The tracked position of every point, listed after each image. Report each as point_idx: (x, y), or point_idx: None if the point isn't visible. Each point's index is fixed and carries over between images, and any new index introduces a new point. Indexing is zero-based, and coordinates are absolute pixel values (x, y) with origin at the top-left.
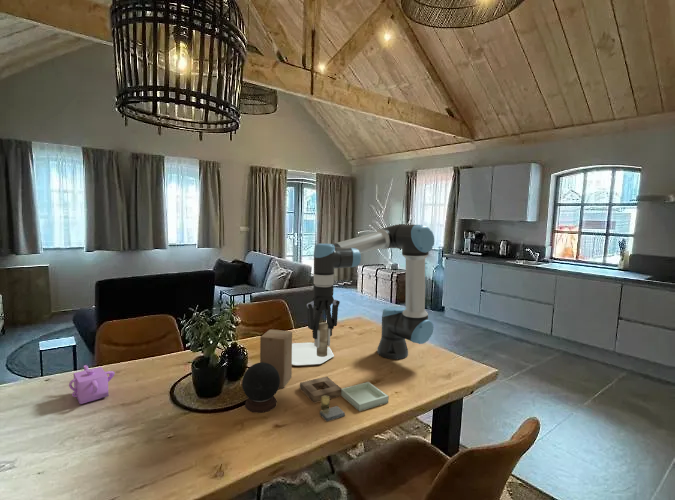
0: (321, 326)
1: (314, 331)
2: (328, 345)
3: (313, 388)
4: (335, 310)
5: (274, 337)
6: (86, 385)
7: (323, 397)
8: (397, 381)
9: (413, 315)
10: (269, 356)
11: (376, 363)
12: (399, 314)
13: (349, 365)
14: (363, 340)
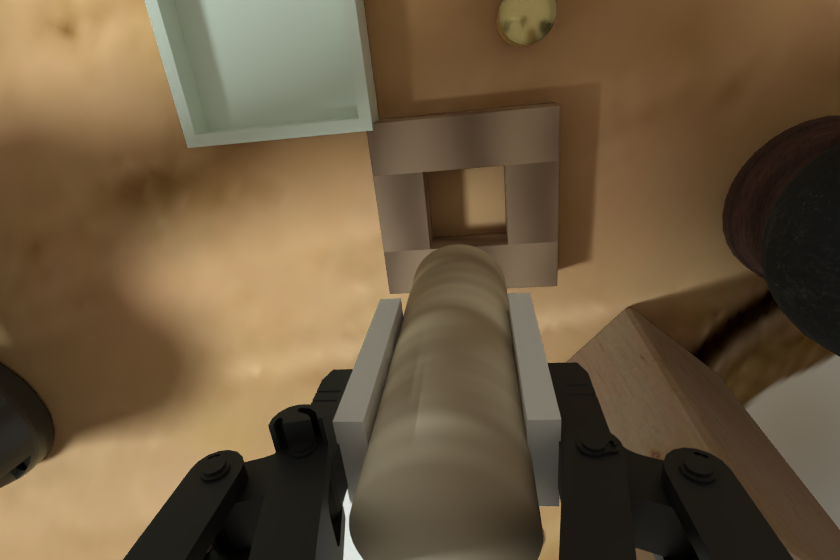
0: (504, 468)
1: (610, 434)
2: (397, 300)
3: (518, 196)
4: None
5: None
6: None
7: (540, 17)
8: (28, 143)
9: None
10: (774, 468)
11: (87, 354)
12: None
13: (224, 385)
14: (87, 556)
